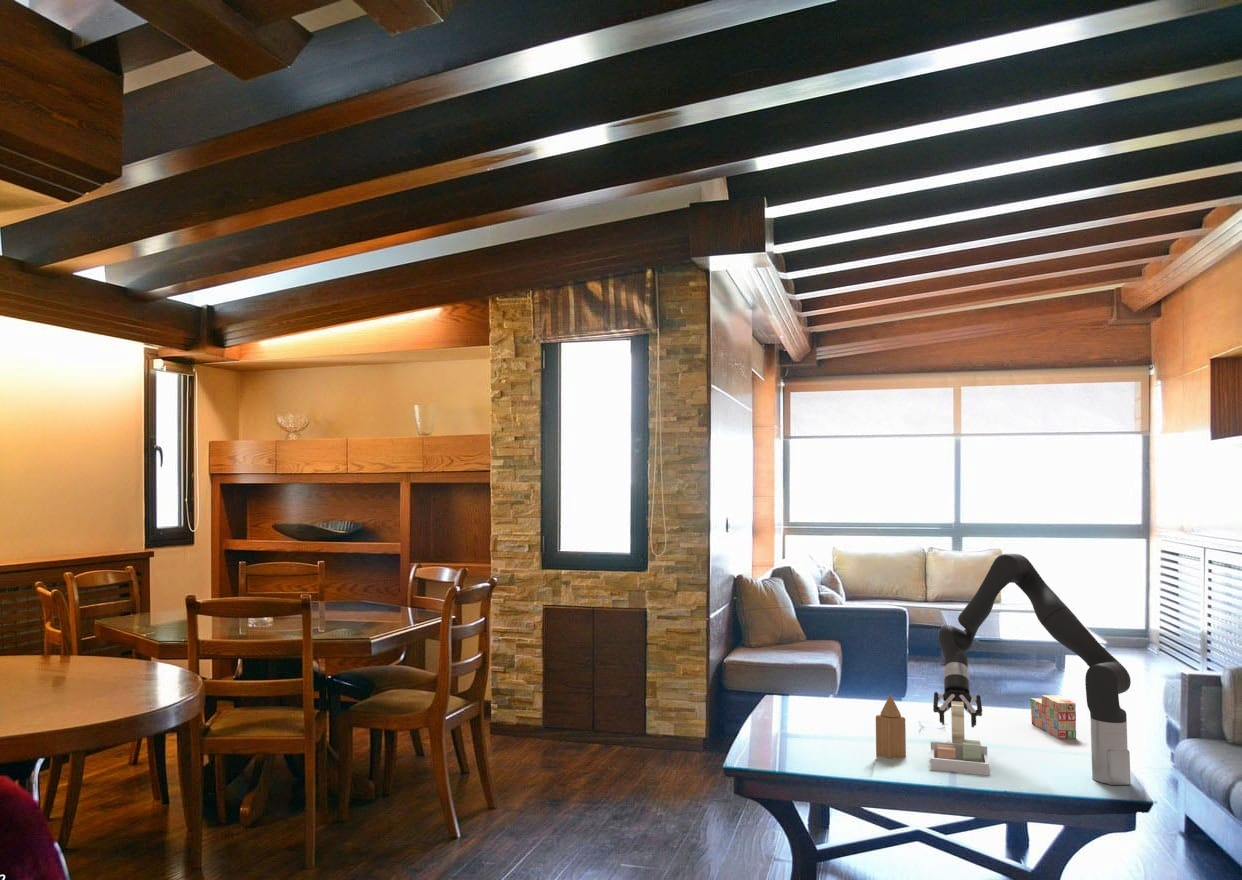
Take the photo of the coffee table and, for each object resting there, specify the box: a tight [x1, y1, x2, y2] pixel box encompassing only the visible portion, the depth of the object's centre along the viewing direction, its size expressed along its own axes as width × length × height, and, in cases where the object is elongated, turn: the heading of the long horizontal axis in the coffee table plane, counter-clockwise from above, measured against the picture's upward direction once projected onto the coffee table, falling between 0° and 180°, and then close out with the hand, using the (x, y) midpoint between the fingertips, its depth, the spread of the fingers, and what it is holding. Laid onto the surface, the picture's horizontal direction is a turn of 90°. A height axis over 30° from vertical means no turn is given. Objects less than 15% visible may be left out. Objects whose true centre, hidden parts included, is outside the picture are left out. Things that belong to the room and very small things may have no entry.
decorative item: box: [875, 693, 907, 760], centre depth 276 cm, size 7×7×20 cm
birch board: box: [950, 701, 965, 744], centre depth 275 cm, size 7×4×16 cm, turn 160°
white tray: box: [929, 738, 991, 776], centre depth 270 cm, size 24×16×6 cm, turn 160°
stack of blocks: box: [1030, 694, 1077, 740], centre depth 314 cm, size 21×6×12 cm, turn 179°
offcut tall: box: [962, 739, 982, 762], centre depth 264 cm, size 6×5×7 cm
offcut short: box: [938, 744, 956, 760], centre depth 266 cm, size 5×5×5 cm
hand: (957, 724), depth 275 cm, fingers open, 8 cm apart
